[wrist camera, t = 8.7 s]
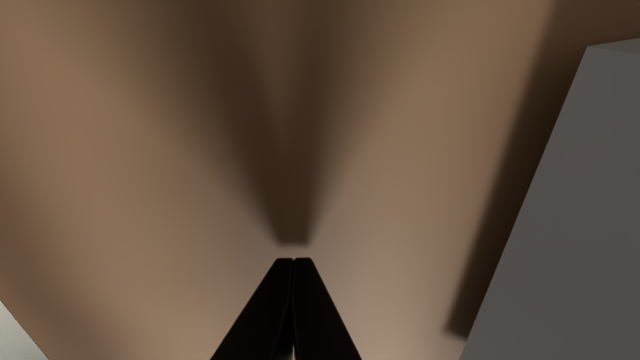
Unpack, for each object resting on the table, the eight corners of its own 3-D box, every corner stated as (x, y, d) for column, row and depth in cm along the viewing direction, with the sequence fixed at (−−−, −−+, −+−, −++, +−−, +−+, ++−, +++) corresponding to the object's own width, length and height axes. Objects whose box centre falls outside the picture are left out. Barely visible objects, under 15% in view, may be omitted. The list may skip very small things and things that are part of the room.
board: (108, 303, 14) (62, 377, 11) (-75, -32, 8) (-273, -33, 5) (458, 298, 14) (489, 369, 12) (573, -34, 8) (700, -37, 5)
